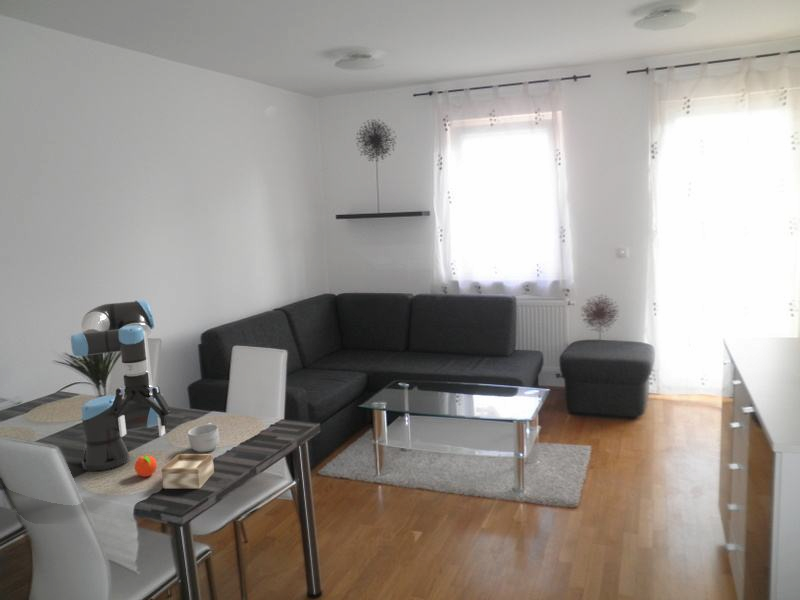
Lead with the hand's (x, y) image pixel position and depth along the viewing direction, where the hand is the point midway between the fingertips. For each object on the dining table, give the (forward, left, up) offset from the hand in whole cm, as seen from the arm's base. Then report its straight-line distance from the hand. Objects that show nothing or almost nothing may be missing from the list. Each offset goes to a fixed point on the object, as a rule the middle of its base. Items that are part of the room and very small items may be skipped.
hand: (142, 435), depth 209 cm
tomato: (0, 0, -15) cm, 15 cm away
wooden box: (+16, -3, -15) cm, 22 cm away
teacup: (+11, +24, -15) cm, 30 cm away
